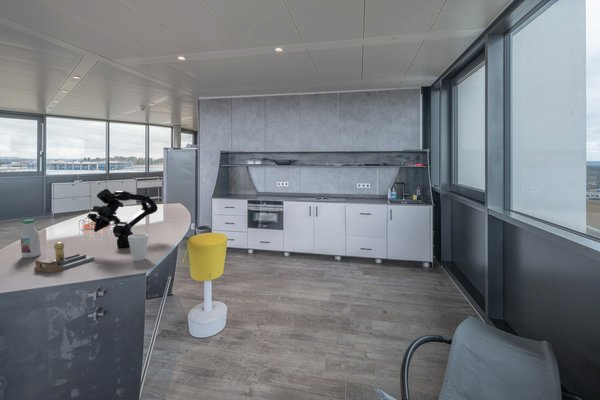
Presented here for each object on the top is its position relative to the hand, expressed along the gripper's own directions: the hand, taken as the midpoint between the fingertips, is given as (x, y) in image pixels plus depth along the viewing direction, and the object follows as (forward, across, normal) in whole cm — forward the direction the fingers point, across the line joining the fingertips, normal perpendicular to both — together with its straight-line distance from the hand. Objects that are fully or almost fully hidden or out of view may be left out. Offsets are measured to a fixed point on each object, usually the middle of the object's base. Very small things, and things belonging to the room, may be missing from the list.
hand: (94, 231), depth 168 cm
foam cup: (+8, +27, +11) cm, 30 cm away
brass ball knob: (+24, 0, -7) cm, 25 cm away
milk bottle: (+19, -31, +1) cm, 36 cm away
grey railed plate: (+21, 0, -2) cm, 21 cm away
